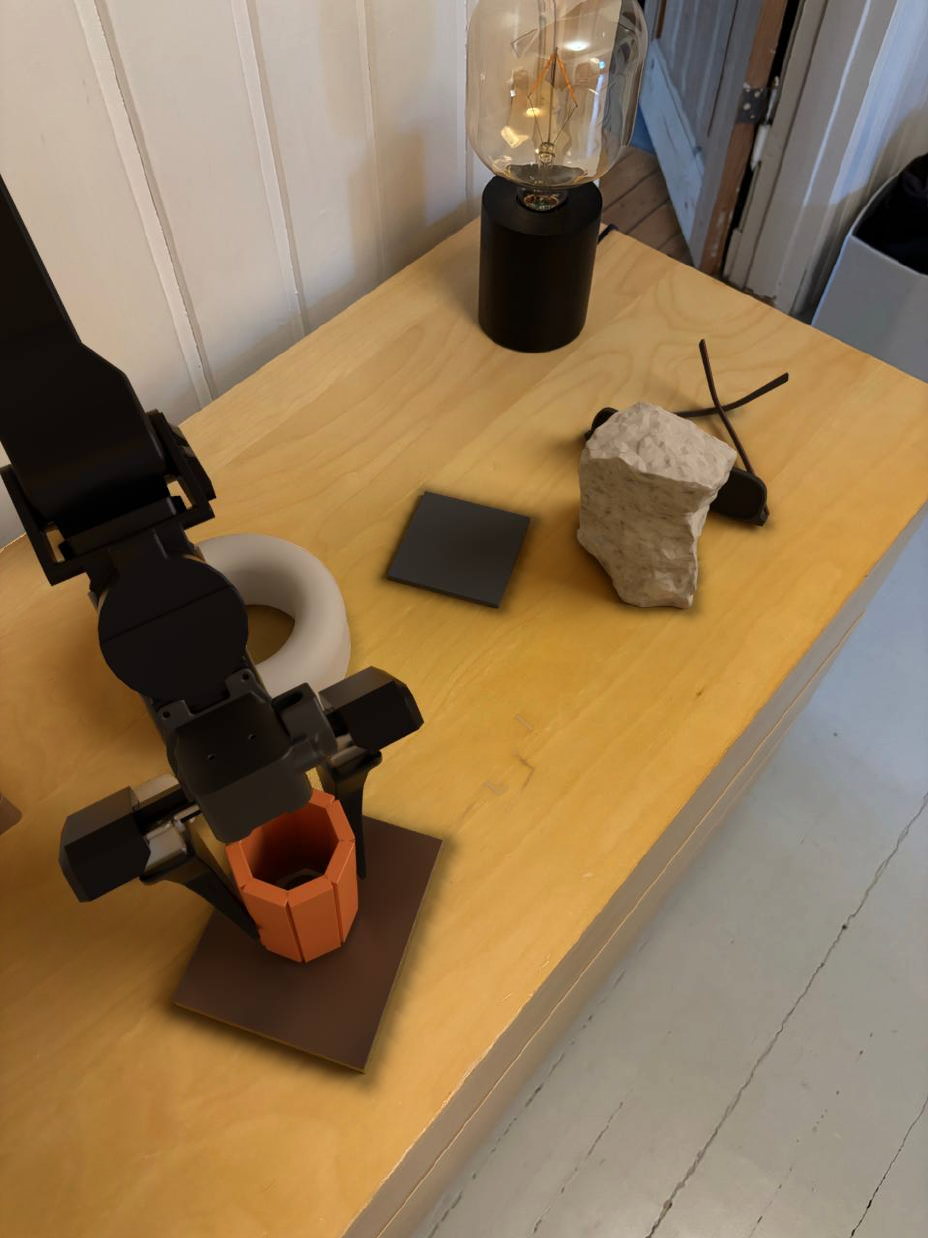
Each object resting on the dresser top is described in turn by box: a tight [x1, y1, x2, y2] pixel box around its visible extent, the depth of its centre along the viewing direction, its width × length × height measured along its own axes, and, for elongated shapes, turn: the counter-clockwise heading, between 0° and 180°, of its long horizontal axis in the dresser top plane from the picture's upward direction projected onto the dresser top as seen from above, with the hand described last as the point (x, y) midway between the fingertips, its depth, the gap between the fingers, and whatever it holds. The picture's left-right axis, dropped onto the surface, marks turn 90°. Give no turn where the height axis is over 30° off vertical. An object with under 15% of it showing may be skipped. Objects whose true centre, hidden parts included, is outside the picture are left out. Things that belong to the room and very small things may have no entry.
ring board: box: [171, 814, 445, 1075], centre depth 56 cm, size 12×14×6 cm
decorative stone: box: [575, 400, 738, 610], centre depth 68 cm, size 10×9×15 cm
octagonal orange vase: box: [223, 787, 358, 962], centre depth 51 cm, size 6×6×12 cm
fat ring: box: [193, 532, 352, 711], centre depth 66 cm, size 15×15×7 cm
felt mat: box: [386, 490, 531, 609], centre depth 74 cm, size 9×9×1 cm
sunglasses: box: [583, 338, 790, 527], centre depth 78 cm, size 17×14×5 cm
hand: (310, 906), depth 51 cm, fingers closed on octagonal orange vase, 6 cm apart
